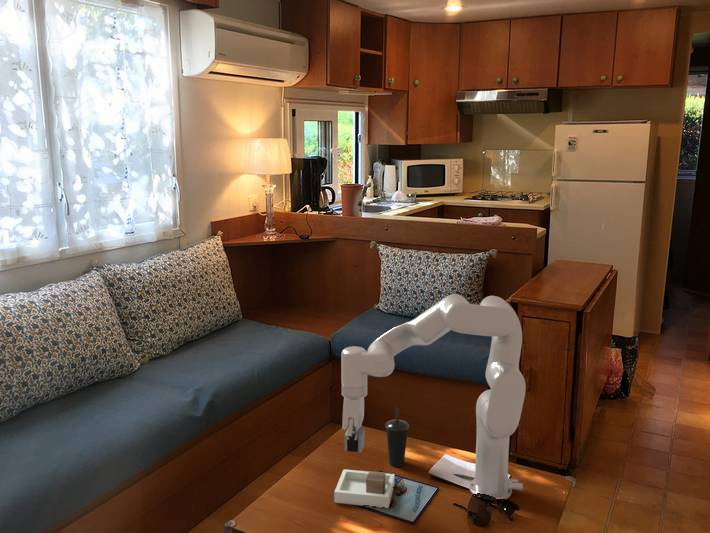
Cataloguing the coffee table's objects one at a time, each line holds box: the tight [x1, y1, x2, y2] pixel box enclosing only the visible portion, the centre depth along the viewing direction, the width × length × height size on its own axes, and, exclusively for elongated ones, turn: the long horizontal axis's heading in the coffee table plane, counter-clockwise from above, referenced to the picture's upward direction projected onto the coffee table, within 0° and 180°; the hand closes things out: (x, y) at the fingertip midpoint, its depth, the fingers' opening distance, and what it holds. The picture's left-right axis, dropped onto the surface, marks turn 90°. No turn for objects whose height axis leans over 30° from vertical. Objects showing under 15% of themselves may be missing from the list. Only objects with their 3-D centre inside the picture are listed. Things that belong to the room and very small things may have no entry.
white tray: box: [333, 468, 395, 509], centre depth 199 cm, size 16×13×4 cm
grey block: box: [344, 428, 366, 453], centre depth 196 cm, size 5×5×5 cm
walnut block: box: [366, 470, 387, 494], centre depth 198 cm, size 5×5×5 cm
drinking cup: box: [384, 405, 410, 468], centre depth 215 cm, size 8×8×20 cm
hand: (354, 446), depth 197 cm, fingers closed on grey block, 5 cm apart
